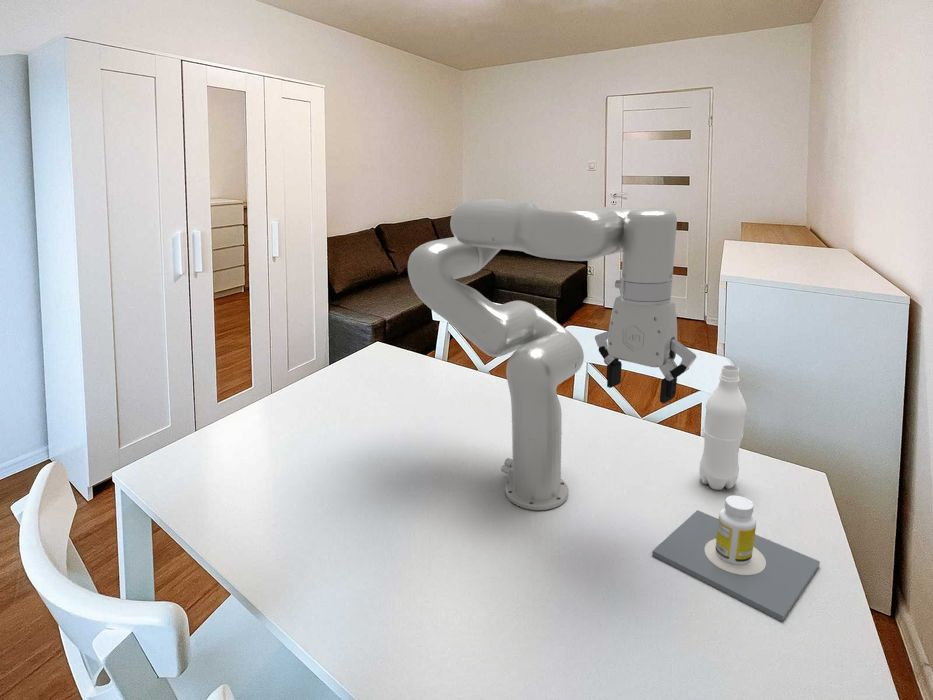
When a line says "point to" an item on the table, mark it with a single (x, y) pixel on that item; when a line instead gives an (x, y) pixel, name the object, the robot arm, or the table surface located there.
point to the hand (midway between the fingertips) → (639, 392)
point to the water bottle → (723, 431)
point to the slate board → (739, 566)
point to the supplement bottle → (736, 530)
